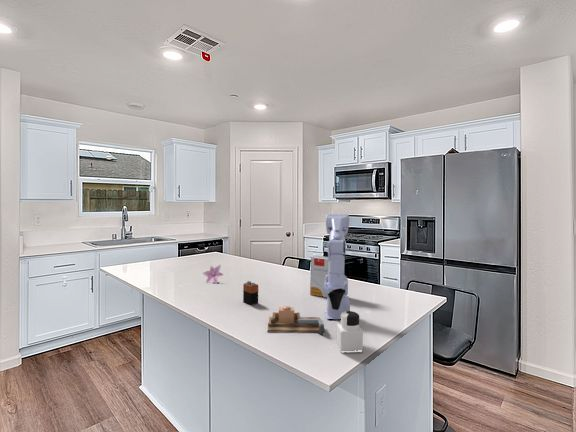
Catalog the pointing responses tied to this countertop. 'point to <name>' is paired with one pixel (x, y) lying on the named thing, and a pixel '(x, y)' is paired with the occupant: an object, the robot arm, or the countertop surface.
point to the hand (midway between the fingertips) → (335, 309)
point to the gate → (314, 321)
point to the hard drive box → (318, 275)
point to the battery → (250, 293)
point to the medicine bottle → (349, 332)
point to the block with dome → (286, 314)
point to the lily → (213, 274)
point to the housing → (291, 324)
